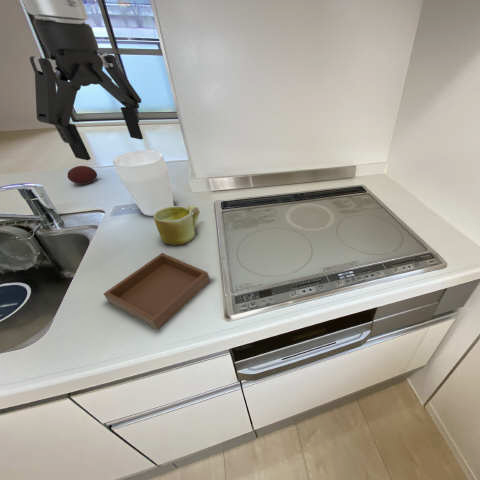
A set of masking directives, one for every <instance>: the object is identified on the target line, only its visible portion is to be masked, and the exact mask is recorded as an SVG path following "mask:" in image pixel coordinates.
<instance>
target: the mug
mask: <svg viewBox="0 0 480 480" xmlns="http://www.w3.org/2000/svg"><path fill="white" fill-rule="evenodd" d="M200 214H201V213H200V209H199V208H198V206H197V205H194V204H192V205H191V204H190V205H189V206H187V207H185V206H179V205H174V206H171V207H166V208H163V209H160V210H158V211H157V212H156V213H155V214H154V216H153V220H154V224H155V226H156V228H157V231H158V233H159V236H160V240H161V241H162V243H164V244H166V245H170V246H180V245H186V244H187V243H189V242H190V241H191V240H193V239H194V238H195V237H196V236H195V235H196V232H195V228H196V223H197V221H198V219H199V215H200Z"/></svg>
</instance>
